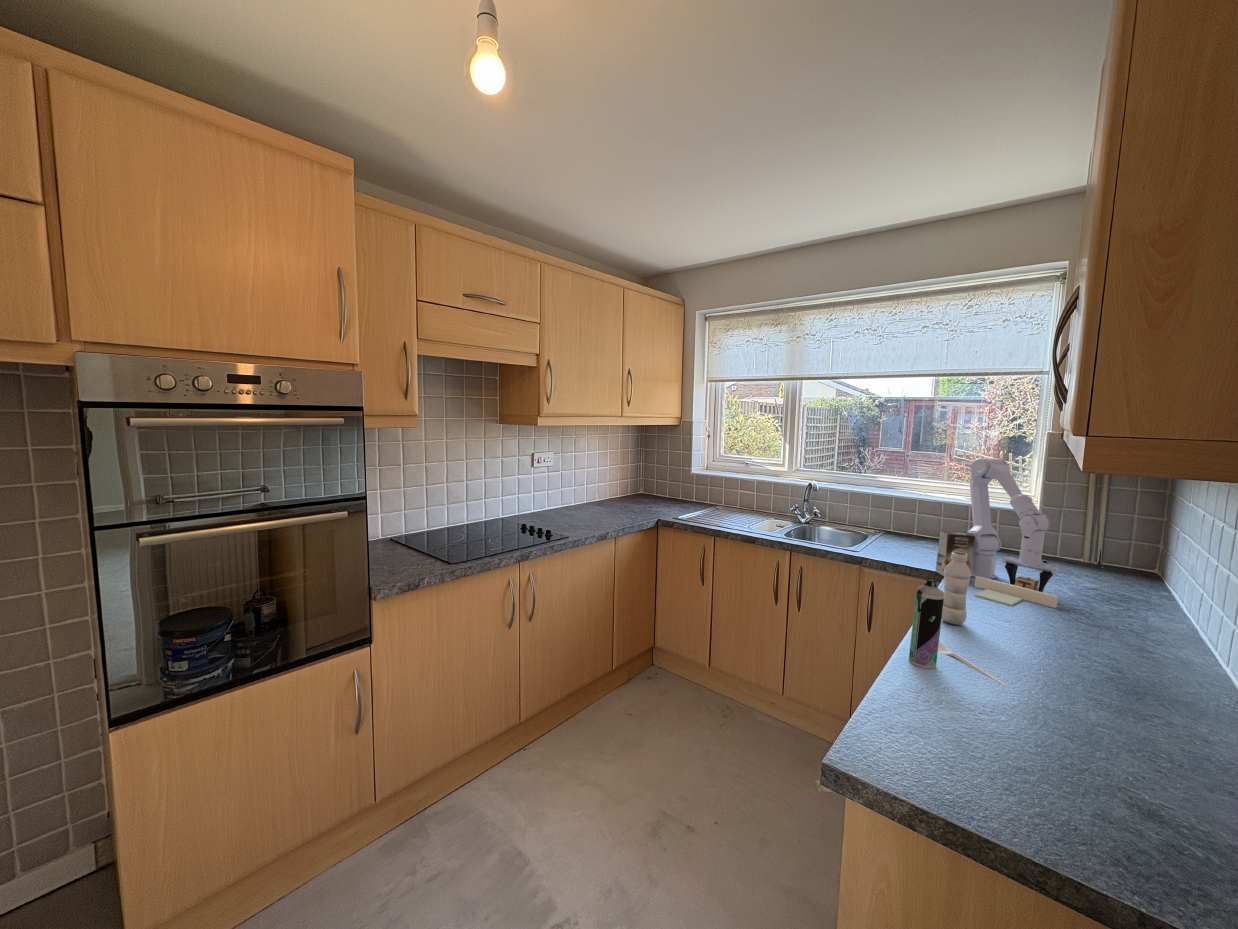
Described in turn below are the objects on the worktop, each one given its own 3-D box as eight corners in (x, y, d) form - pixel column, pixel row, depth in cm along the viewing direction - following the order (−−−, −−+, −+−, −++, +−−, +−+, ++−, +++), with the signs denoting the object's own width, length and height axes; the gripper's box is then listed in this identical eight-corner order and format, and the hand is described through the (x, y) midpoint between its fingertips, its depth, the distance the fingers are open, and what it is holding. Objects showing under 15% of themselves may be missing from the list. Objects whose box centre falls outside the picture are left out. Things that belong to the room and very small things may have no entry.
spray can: (926, 671, 114) (936, 585, 112) (903, 660, 119) (912, 577, 117) (941, 666, 117) (950, 582, 115) (917, 656, 122) (926, 575, 119)
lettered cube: (1019, 589, 175) (1021, 575, 175) (1037, 594, 171) (1039, 579, 171) (1013, 592, 172) (1015, 577, 172) (1032, 597, 168) (1034, 582, 168)
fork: (1000, 690, 109) (1001, 682, 109) (926, 645, 128) (927, 638, 128) (1012, 689, 110) (1013, 681, 109) (937, 644, 129) (938, 637, 129)
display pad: (986, 590, 172) (986, 588, 172) (1022, 600, 164) (1022, 598, 164) (974, 595, 166) (974, 594, 166) (1011, 606, 158) (1011, 604, 158)
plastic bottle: (967, 623, 143) (975, 554, 141) (963, 629, 138) (971, 558, 136) (941, 616, 148) (948, 549, 146) (935, 622, 143) (943, 553, 141)
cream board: (976, 585, 177) (977, 576, 177) (1056, 607, 159) (1058, 596, 159) (974, 586, 176) (975, 576, 176) (1055, 607, 158) (1056, 597, 158)
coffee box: (943, 576, 186) (948, 533, 184) (934, 571, 192) (939, 529, 191) (970, 578, 185) (975, 535, 183) (960, 573, 191) (965, 531, 190)
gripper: (1001, 545, 174) (996, 584, 175) (1055, 556, 162) (1049, 598, 163) (1008, 543, 178) (1003, 581, 179) (1061, 554, 166) (1056, 594, 167)
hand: (1026, 589), depth 171 cm, fingers open, 7 cm apart
